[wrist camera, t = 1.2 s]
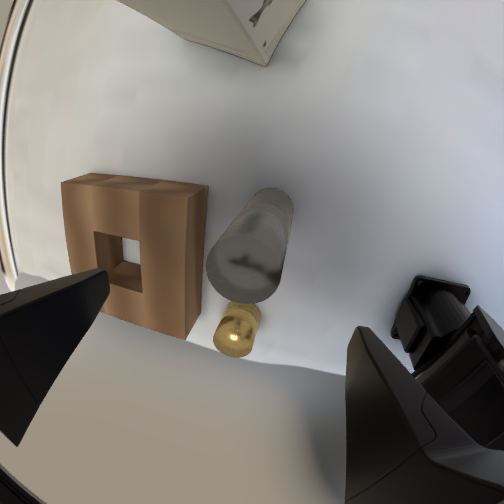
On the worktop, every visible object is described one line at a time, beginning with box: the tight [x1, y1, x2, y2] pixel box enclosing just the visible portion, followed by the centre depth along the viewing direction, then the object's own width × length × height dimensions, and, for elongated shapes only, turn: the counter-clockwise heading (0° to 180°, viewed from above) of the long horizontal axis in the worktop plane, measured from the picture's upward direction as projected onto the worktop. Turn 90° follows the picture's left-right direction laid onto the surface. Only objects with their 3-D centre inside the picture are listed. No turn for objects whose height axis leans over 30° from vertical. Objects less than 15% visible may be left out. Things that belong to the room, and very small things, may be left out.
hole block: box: [61, 173, 208, 340], centre depth 22 cm, size 12×12×4 cm
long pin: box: [206, 188, 293, 304], centre depth 16 cm, size 3×3×10 cm
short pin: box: [213, 301, 261, 357], centre depth 23 cm, size 3×3×4 cm
